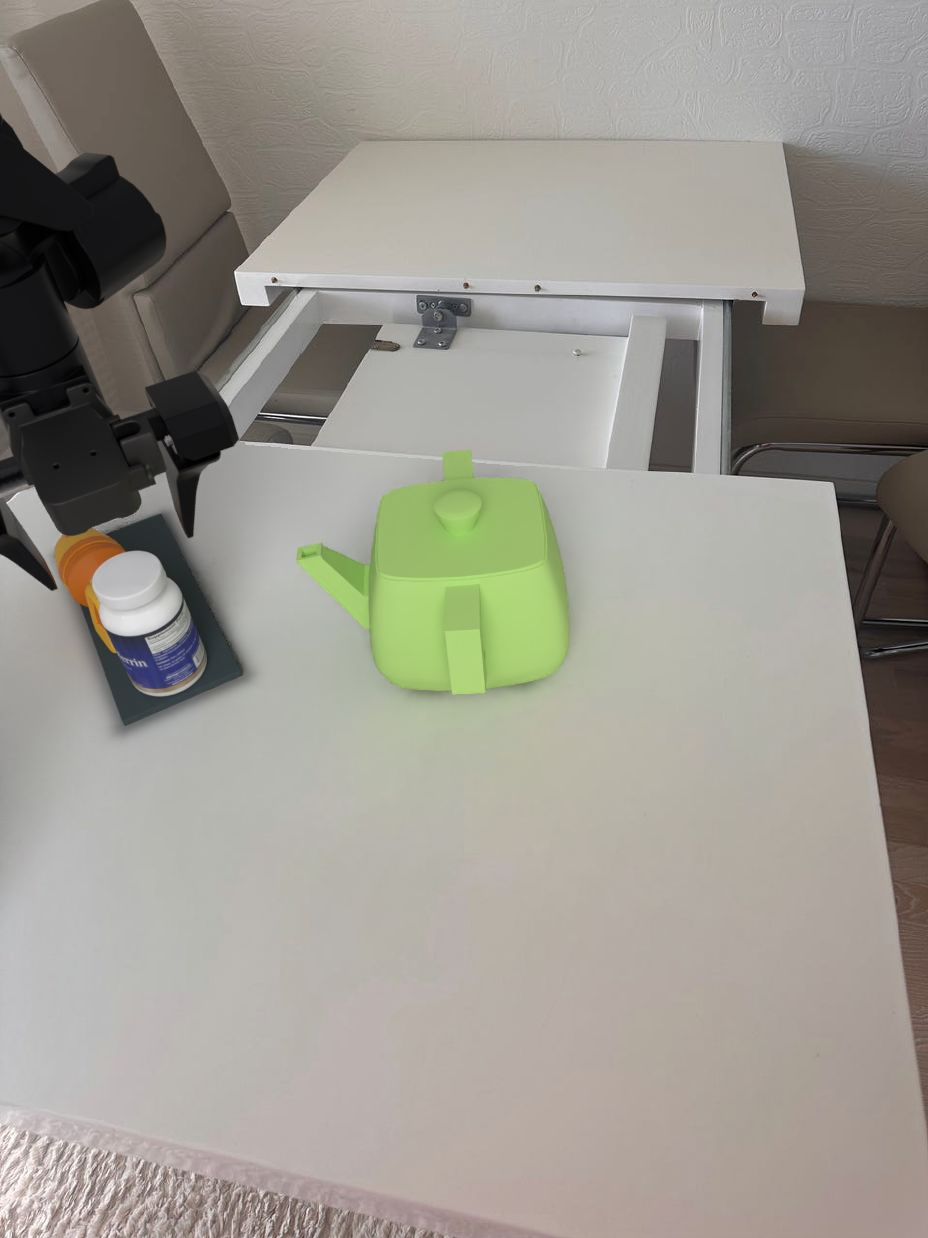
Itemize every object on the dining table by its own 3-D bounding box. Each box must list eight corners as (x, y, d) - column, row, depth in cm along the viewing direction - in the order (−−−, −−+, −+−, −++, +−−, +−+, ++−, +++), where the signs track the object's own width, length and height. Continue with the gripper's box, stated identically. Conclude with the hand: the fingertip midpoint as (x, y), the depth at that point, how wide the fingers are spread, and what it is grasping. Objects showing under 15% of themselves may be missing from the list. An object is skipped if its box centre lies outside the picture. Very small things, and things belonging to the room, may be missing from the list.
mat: (124, 726, 68) (122, 721, 68) (62, 555, 82) (60, 550, 82) (242, 675, 71) (240, 670, 70) (163, 517, 85) (161, 512, 84)
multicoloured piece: (55, 581, 79) (112, 658, 72) (27, 530, 75) (85, 606, 68) (114, 551, 81) (176, 623, 74) (91, 500, 78) (153, 570, 70)
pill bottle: (117, 674, 71) (67, 577, 64) (180, 631, 74) (138, 533, 67) (161, 712, 68) (113, 615, 61) (224, 665, 71) (185, 567, 64)
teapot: (313, 756, 65) (269, 624, 56) (333, 560, 79) (301, 428, 70) (582, 737, 64) (584, 600, 55) (555, 542, 78) (552, 407, 69)
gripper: (-144, 485, 44) (0, 697, 55) (233, 358, 50) (296, 576, 61) (-158, 379, 51) (-27, 586, 63) (174, 278, 57) (239, 486, 68)
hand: (122, 559), depth 63 cm, fingers open, 9 cm apart
